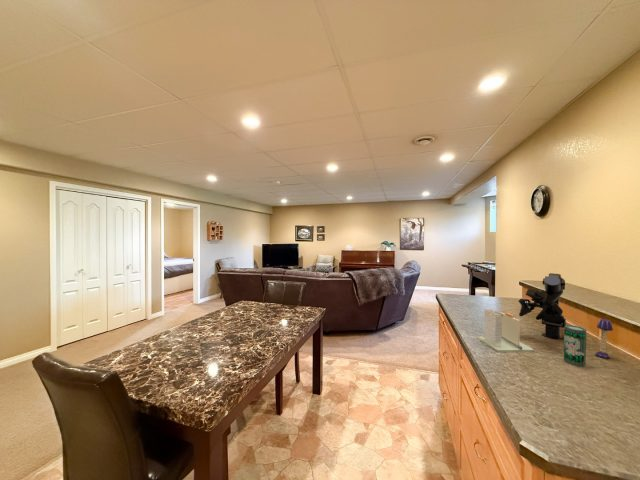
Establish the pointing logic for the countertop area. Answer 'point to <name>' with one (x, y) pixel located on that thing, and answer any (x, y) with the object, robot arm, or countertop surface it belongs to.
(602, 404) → the countertop surface
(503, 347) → the pale green base plate
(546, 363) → the countertop surface
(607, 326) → the toy lamp
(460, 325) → the countertop surface
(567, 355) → the can
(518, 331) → the hinged cream panel
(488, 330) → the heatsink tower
